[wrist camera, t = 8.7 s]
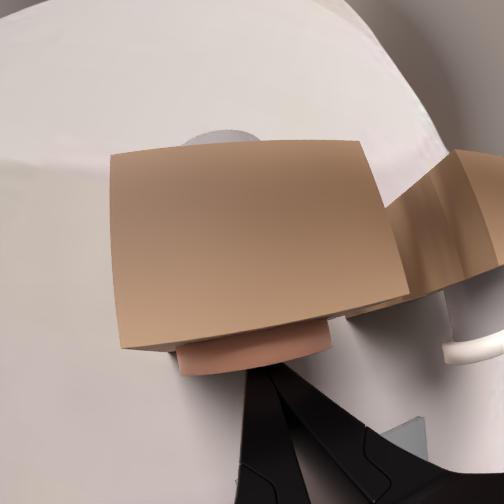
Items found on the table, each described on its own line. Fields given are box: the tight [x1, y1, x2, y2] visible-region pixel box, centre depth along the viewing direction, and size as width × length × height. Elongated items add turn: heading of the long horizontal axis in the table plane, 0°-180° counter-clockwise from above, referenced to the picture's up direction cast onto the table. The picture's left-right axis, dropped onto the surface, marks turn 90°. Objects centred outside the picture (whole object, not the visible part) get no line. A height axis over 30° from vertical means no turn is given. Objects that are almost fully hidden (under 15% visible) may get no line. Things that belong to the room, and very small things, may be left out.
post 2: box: [345, 149, 504, 318], centre depth 14 cm, size 4×6×11 cm, turn 101°
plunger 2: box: [442, 266, 504, 365], centre depth 11 cm, size 7×4×4 cm, turn 11°
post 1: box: [110, 140, 410, 352], centre depth 11 cm, size 4×6×11 cm, turn 101°
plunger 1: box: [175, 130, 332, 376], centre depth 10 cm, size 7×4×4 cm, turn 11°
